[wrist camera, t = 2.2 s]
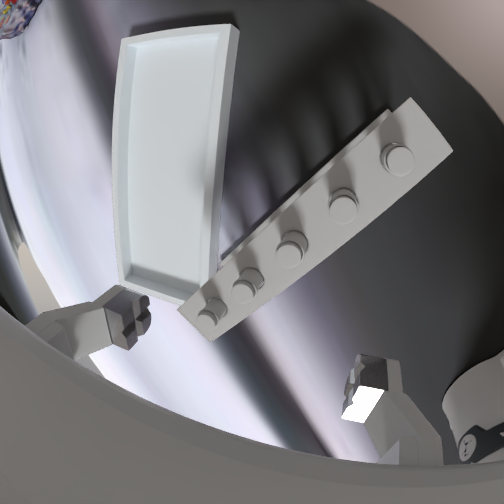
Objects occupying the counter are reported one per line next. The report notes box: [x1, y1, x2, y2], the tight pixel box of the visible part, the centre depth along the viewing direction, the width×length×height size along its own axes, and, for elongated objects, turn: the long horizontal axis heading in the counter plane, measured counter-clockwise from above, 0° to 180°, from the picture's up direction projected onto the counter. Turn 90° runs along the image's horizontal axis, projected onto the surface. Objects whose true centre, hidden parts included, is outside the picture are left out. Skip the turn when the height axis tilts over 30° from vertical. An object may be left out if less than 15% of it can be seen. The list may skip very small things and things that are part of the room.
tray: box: [112, 24, 240, 306], centre depth 32 cm, size 14×33×2 cm, turn 174°
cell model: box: [0, 0, 41, 40], centre depth 23 cm, size 13×11×20 cm
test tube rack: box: [177, 97, 453, 342], centre depth 24 cm, size 25×4×13 cm, turn 137°
